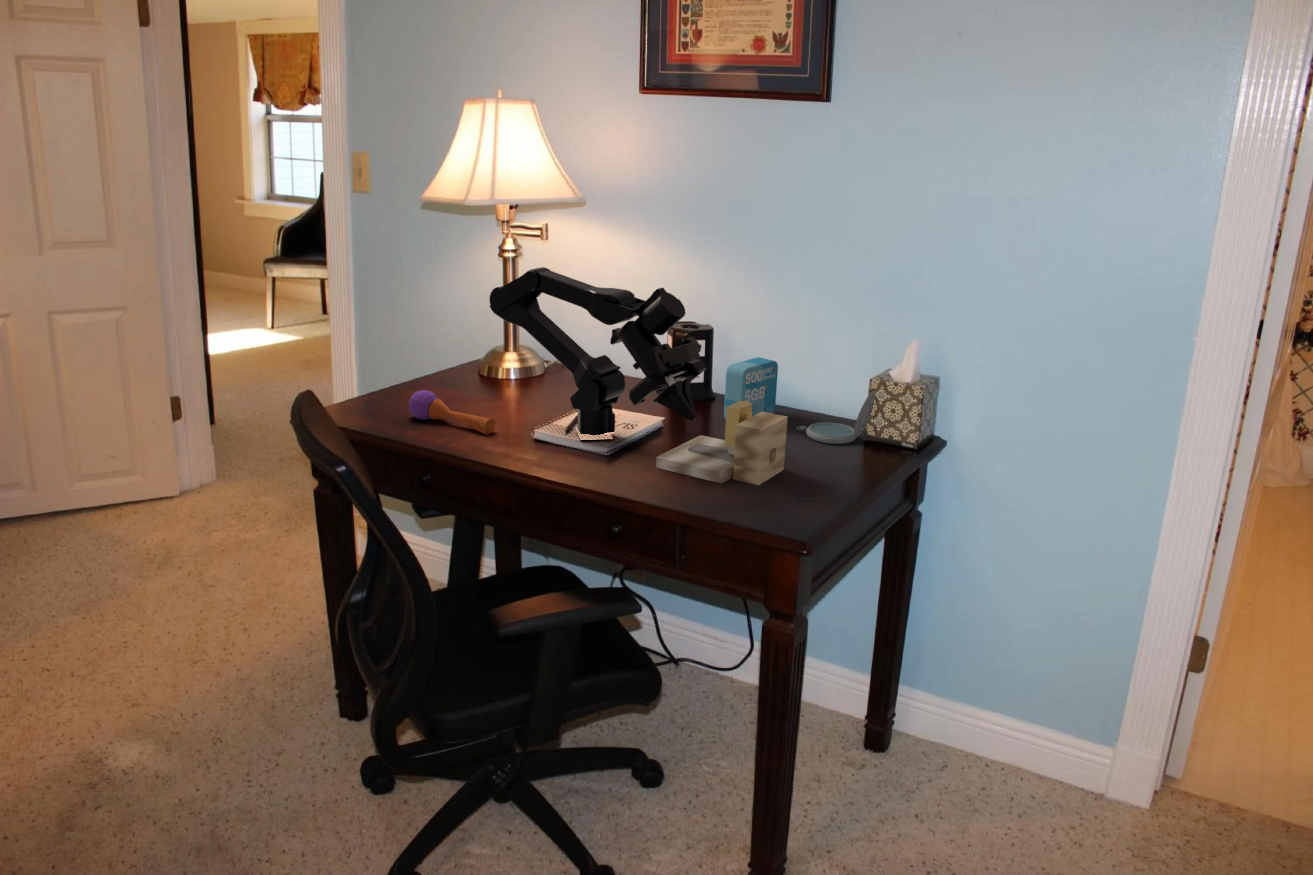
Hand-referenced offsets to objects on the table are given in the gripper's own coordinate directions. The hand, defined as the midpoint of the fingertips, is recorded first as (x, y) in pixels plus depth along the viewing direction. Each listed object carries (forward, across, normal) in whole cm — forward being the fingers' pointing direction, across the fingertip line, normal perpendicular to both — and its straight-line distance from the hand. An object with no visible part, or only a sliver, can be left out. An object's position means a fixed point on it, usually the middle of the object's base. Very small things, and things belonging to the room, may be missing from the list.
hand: (694, 419), depth 194 cm
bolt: (+11, 0, -5) cm, 12 cm away
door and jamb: (+10, 0, +1) cm, 10 cm away
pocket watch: (+16, +28, -6) cm, 33 cm away
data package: (+3, +30, +8) cm, 31 cm away
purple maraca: (-28, -11, +41) cm, 51 cm away
